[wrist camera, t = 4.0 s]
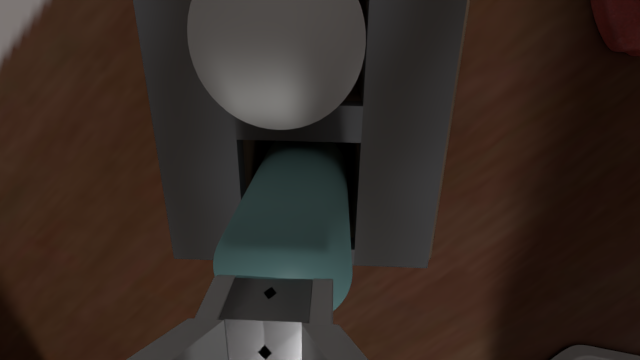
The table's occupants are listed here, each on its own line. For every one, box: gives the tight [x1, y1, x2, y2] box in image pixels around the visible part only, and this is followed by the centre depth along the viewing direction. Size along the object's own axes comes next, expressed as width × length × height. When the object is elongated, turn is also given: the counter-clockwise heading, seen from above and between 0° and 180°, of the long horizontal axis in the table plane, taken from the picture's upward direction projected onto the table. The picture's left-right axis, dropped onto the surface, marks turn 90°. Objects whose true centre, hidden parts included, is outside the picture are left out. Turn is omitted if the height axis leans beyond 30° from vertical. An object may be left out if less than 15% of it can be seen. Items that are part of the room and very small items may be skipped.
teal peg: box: [213, 141, 352, 311], centre depth 15 cm, size 4×4×8 cm
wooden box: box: [133, 0, 470, 268], centre depth 18 cm, size 12×13×8 cm
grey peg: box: [187, 0, 366, 130], centre depth 12 cm, size 4×4×8 cm
